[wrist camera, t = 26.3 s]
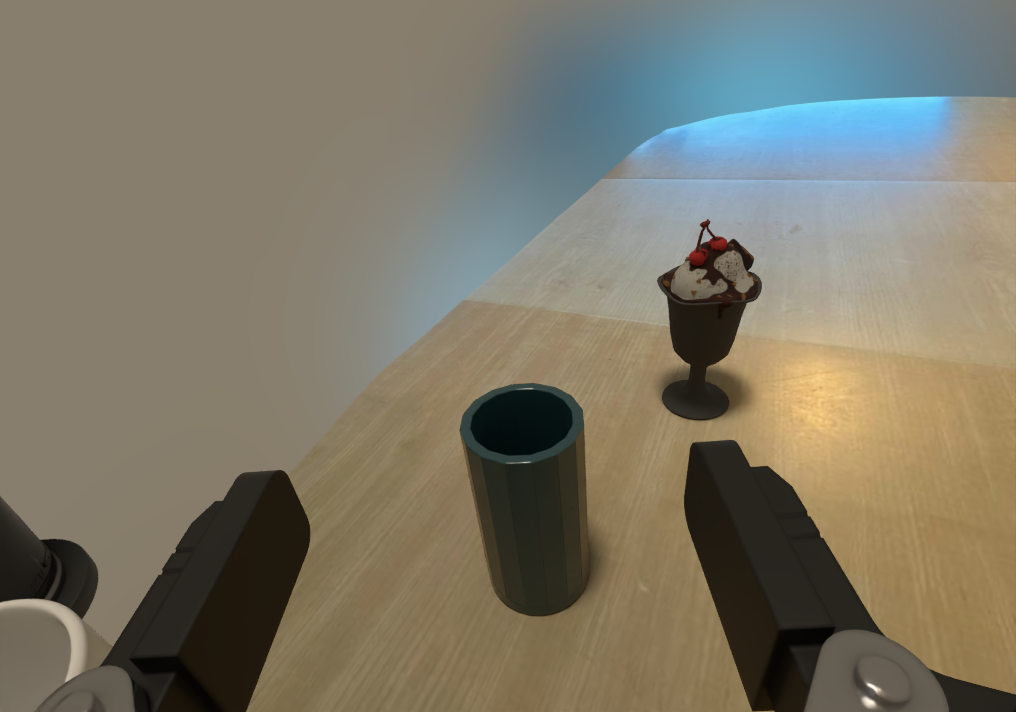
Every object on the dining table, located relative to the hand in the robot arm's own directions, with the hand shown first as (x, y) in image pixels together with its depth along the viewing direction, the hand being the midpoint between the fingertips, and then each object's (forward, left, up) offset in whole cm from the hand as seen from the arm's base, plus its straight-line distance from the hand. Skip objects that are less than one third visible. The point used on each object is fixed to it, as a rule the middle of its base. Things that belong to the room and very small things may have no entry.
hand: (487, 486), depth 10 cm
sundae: (+25, +14, -19) cm, 34 cm away
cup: (+6, +9, -18) cm, 21 cm away
